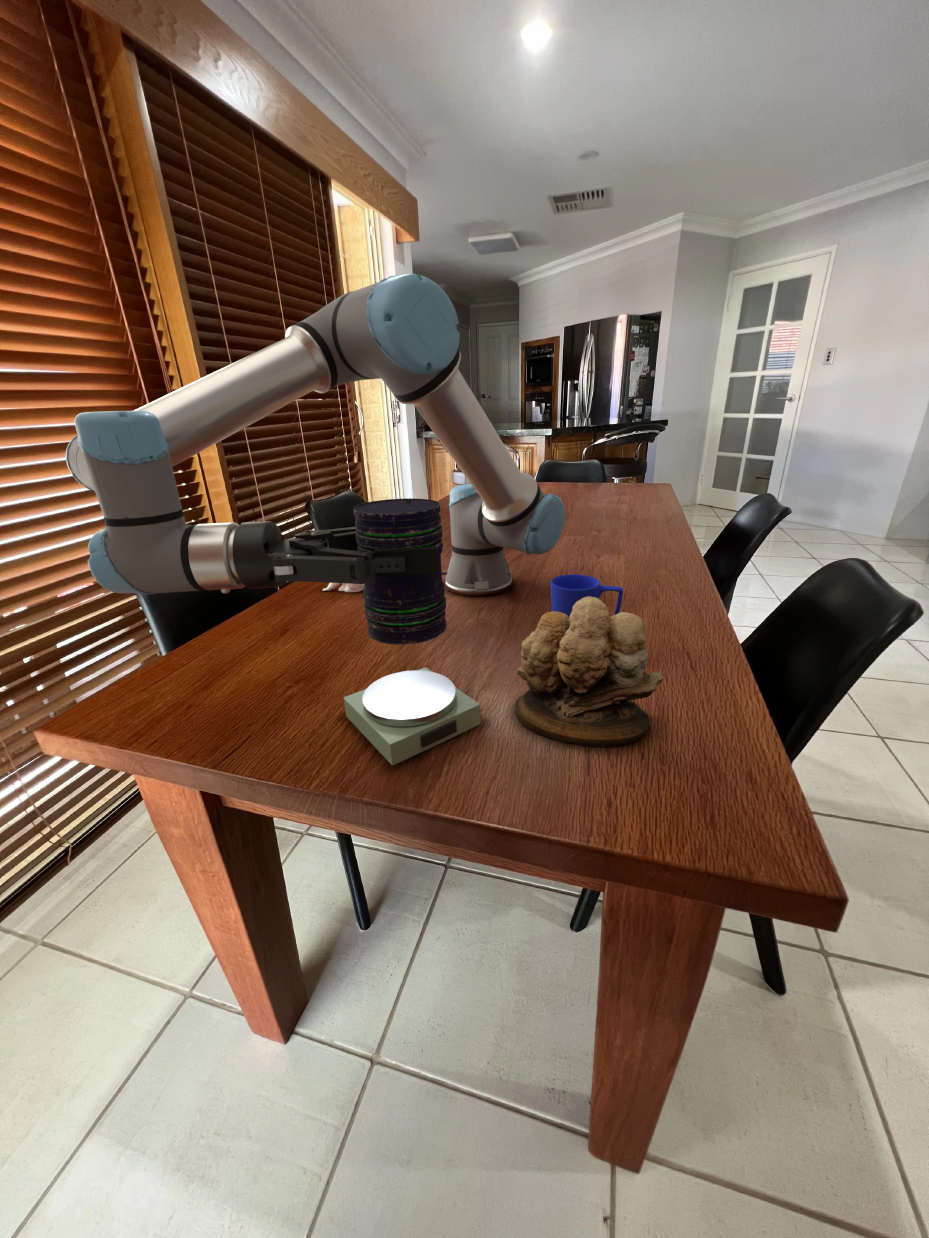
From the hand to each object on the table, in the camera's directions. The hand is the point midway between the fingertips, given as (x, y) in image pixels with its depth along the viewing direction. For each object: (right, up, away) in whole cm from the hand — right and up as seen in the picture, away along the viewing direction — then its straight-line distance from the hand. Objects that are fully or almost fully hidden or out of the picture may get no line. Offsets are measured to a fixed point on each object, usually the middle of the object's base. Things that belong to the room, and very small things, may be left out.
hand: (438, 547), depth 57 cm
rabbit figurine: (-23, -1, +59) cm, 64 cm away
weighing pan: (-4, -19, +7) cm, 20 cm away
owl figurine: (+18, -21, +7) cm, 29 cm away
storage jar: (-4, -10, +4) cm, 11 cm away
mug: (+24, -11, +30) cm, 40 cm away
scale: (-4, -22, +8) cm, 23 cm away
